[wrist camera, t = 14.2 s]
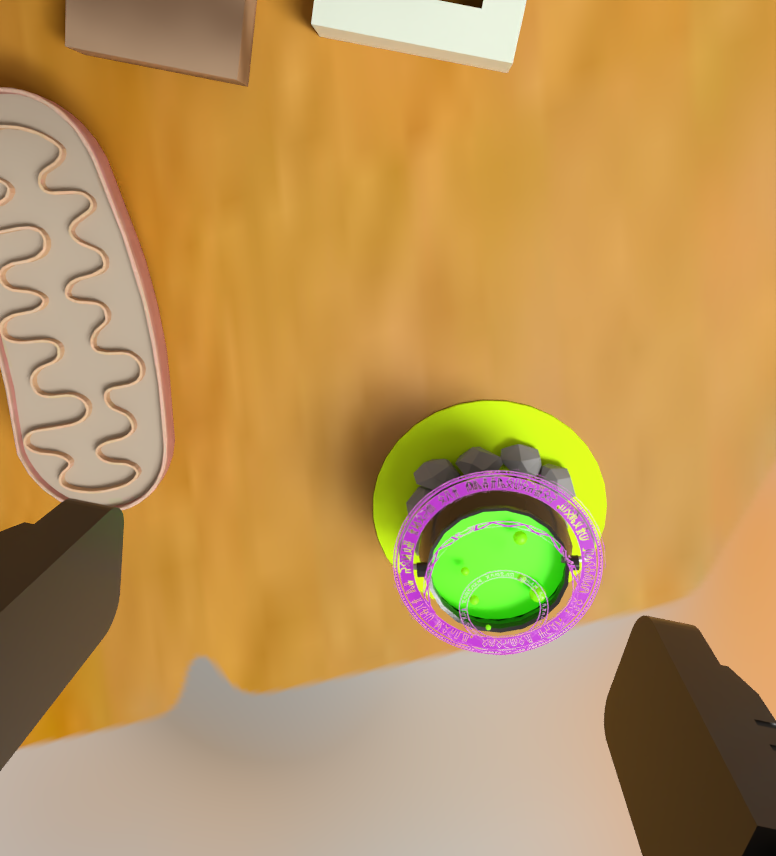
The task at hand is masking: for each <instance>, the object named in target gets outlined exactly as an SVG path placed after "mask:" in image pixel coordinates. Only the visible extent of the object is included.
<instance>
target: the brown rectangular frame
mask: <svg viewBox="0 0 776 856" xmlns="http://www.w3.org/2000/svg"><path fill="white" fill-rule="evenodd" d="M256 4H257V0H66V21H65V46H66V47H68V48H70V49H73V50H75V51H77V52H80V53H82V54H85V55H89V56H94V57H99V58H104V59H110V60H115V61H120V62H125V63H130V64H135V65H140V66H145V67H150V68H155V69H161V70H166V71H171V72H176V73H181V74H186V75H191V76H196V77H201V78H206V79H212V80H217V81H222V82H227V83H232V84H237V85H242V86H247V87H248V82H249V72H250V62H251V53H252V43H253V33H254V23H255V13H256Z"/></svg>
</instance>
